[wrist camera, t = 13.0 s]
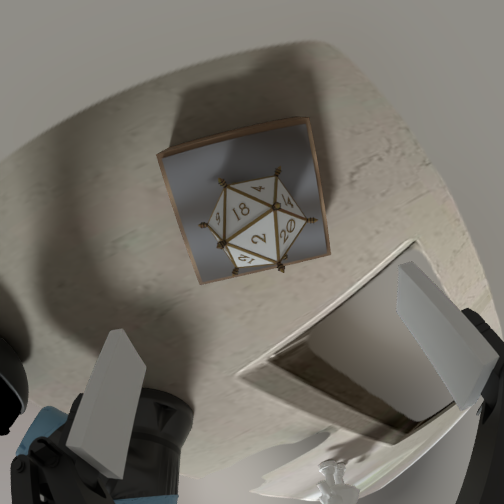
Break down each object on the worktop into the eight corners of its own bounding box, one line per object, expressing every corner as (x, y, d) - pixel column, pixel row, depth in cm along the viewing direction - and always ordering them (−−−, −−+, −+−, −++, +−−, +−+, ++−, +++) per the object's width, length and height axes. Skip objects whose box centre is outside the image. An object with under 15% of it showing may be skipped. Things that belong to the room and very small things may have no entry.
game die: (251, 177, 30) (290, 128, 20) (298, 246, 30) (356, 223, 21) (176, 223, 27) (185, 183, 18) (228, 298, 27) (264, 298, 18)
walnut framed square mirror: (317, 233, 36) (332, 256, 30) (204, 260, 36) (199, 286, 31) (296, 116, 29) (310, 117, 24) (168, 147, 30) (155, 155, 25)
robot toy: (295, 466, 66) (307, 542, 43) (330, 451, 63) (349, 531, 40) (333, 476, 74) (347, 538, 51) (363, 463, 71) (382, 527, 48)
